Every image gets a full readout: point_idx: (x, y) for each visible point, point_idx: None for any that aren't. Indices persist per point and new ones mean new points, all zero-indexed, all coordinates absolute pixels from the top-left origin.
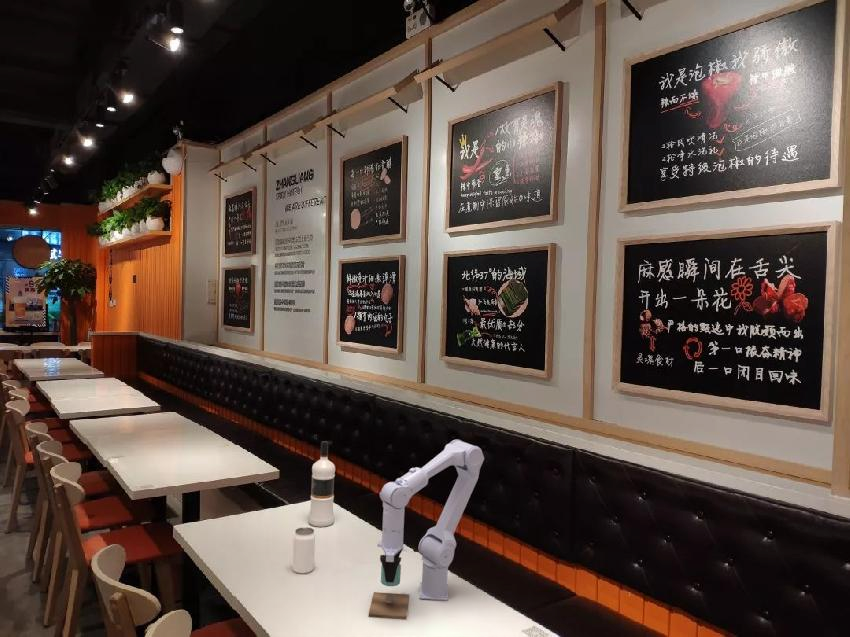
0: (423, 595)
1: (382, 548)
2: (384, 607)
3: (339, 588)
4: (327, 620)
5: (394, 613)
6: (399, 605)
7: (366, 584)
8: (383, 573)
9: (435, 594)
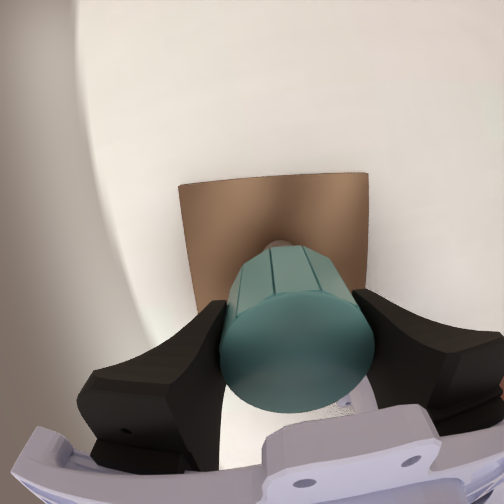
0: None
1: (188, 481)
2: (245, 239)
3: (383, 35)
4: (129, 50)
5: (208, 284)
6: None
7: (435, 136)
8: (241, 298)
9: None
